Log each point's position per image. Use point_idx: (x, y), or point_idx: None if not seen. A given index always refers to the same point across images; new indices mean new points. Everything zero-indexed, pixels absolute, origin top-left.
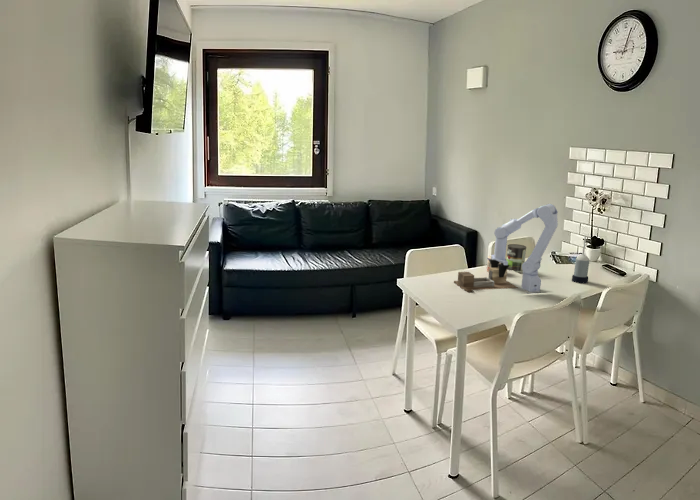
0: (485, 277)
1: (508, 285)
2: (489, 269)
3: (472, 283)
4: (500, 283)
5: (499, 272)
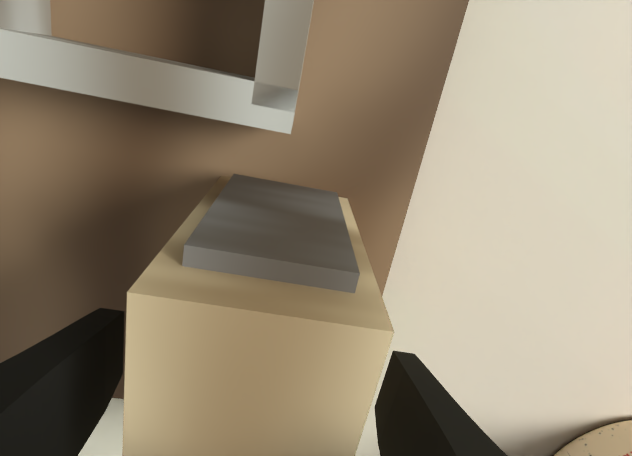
0: (293, 88)
1: (49, 322)
2: (381, 299)
3: None
4: None
5: (19, 363)
